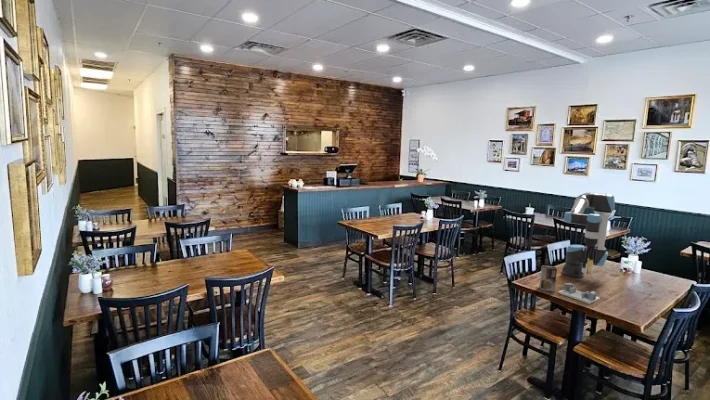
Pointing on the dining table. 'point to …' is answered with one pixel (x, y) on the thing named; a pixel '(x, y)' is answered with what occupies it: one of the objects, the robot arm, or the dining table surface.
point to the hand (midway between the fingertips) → (586, 271)
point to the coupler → (589, 266)
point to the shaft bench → (579, 294)
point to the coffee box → (548, 278)
